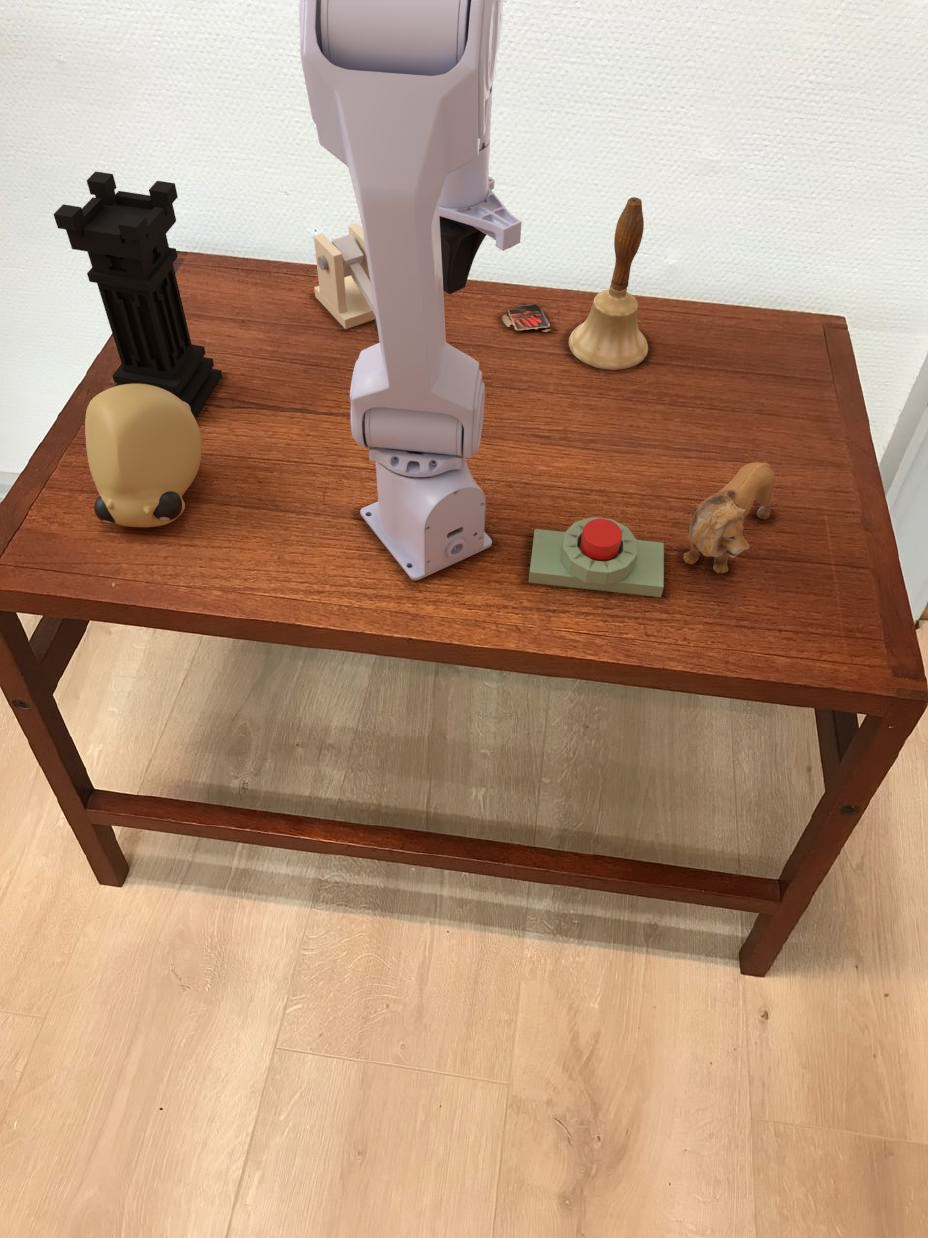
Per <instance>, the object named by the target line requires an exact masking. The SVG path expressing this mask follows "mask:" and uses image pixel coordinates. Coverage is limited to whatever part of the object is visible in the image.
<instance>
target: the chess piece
mask: <svg viewBox="0 0 928 1238" xmlns="http://www.w3.org/2000/svg"><path fill="white" fill-rule="evenodd" d="M86 185H87V187H88V191H89V194H90V195H92V196H94V197H92V198H90V199H89V200H88V201H87V202H86V204H85V205H83V207H82V206H77V205H72V204H71V205H70V204H65V203H63V204H62V205H60V207H59V208H58V209H57V210H56V211H55V212H53V214H52V215H53V217H54V221H55V224H56V226H57V229H59V230H65V232H66V235H67V238H68V241H69V244H70V248H71V249H72V250H75V251H81V252H86V253H87V255H88V259H89V261H90V266H91V268H90V269H89V270H88V271H87V272H86V275H87V279H88V281H89V283H95V284H96V285H97V287H98V292H99V294H100V297H101V300H102V301H101V302H102V304H103V307H104V310H105V313H106V317H107V320H108V324H109V326H110V331H111V333H112V338H113V340H114V343H115V347H116V350H117V353H118V354H117V355H118V356H119V361H120V365H118V367H117V369H116V370H115V371H114V373H113V374H112V376H111V377H112V378H113V383H114V384H115V385H114V386H113V387H115V386H119V385H124V384H147V385H152V386H156V387H159V388H162V389H164V390H166V391H168V392H170V393H172V394H174V395H175V396H177V397H178V398H179V399H180V400H182V401H183V402H186V403H187V404H188V405H189V406H190V408H191V412H192V414H193V416H194V418H195V420H196V419H197V417H198V416H199V414H200V413H201V411H202V409H203V408H204V406H205V404H206V402H207V401H208V399H209V398H210V396H211V394H212V393H213V391H214V390H215V388H216V386H218V384H219V382H220V380H221V379H222V377H223V373H222V369H216V368H214V366H215V362H214V359H213V358H212V357H206V356H205V355H206V348H205V346H204V345H198V344H192V339H191V335H190V331H189V327H188V322H187V318H186V314H185V310H184V305H183V301H182V297H181V294H180V293H181V292H180V288H179V284H178V279H177V276H176V271H175V267H174V262H176V260H177V258H178V257H179V255H178V251H177V249H176V248H174V247H170V245H169V242H168V236H167V233H168V232H169V231H170V230H171V229H172V227H173V226H174V225H175V223H176V222H177V218H176V214H175V209H174V208H175V207H174V203H175V202H176V200H177V199H178V197H179V196H178V190H177V186H176V182H170V181H164V180H163V181H162V180H156V181H155V182H154V183H153V184H152V186H150V188H149V189H148V192H149V194H144V193H136V192H130V191H123V190H118V191H117V192H116V189H117V184H116V180H115V176H114V173H109V172H103V171H97V170H96V171H94V172H93V173H92V174H91V175H90V176H89V177H88V178H87V179H86Z"/></svg>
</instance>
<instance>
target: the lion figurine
mask: <svg viewBox="0 0 928 1238" xmlns="http://www.w3.org/2000/svg"><path fill="white" fill-rule="evenodd" d="M775 486H776V473H775V471H774V470H773V469H772V466H771V464H770V463H768V462H759V461H754V462H750V463H747V464H745V465H743V466H742V467H740V468H739V470H738V471H737V472H736V474H735V475H734V477H733V478H732V479H731V480H730V481H729V482H728V483H727V484H726V485H725V486H723V487H722V488H721V489H720V490H719V491H718V492H716V493H714V494H711V495H709V496H707V498H706V499H704V500H702V501H701V502H700V503H699V504H698V505H696V506H695V507H694V509H693V510H694V511H693V512H692V513H691V517H690V519H689V521H688V526H687V538H688V540H689V542H690V543H689V551H686V552H684V553H683V554H682V560H683V561H684V563H686V564H688V565H694V564H696V563H697V561H698V560H699V559H700V554H702V555H703V556H704V557H706V558H707V557H708V558H709V557H713V565H712V567H713V568H712V569H713V571H715V572H716V573H717V574H725V573H728V571H729V567H728V560H729V558H731V559H734V558H736V557H738V556H739V554H741V553H743V552H744V551H748V549H750V544H749V542H748V541H747V540H746V539H745V537H744V535H743V534H744V529H745V527H744V524H745V522H744V520H745V519H746V517H747V516H748V514H749V513H750V511H751V509H752V507H753V505H754V502H756V503H758V504H759V505H760V507H759V508H758V509H757V511H756V516H757V517H758V519H761V520H768V519H769V518H770V516H771V510H772V506H773V504H774V502H775V496H774V492H775V488H776V487H775Z"/></svg>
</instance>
